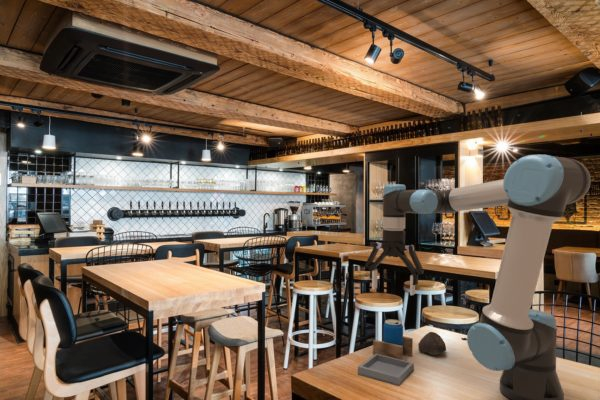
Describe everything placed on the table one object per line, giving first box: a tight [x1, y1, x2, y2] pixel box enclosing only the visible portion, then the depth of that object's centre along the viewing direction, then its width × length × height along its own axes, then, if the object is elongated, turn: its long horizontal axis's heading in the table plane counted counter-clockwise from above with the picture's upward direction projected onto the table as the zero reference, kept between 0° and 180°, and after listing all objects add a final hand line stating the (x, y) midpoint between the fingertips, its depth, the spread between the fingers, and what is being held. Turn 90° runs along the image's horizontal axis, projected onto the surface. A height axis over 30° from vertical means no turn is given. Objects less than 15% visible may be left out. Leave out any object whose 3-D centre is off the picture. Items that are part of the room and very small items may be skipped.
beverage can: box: [382, 319, 404, 346], centre depth 134 cm, size 6×6×12 cm
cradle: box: [372, 335, 414, 360], centre depth 134 cm, size 10×10×6 cm
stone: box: [417, 331, 447, 356], centre depth 138 cm, size 10×8×10 cm
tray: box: [357, 353, 415, 387], centre depth 122 cm, size 13×13×2 cm
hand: (393, 291), depth 134 cm, fingers open, 13 cm apart
